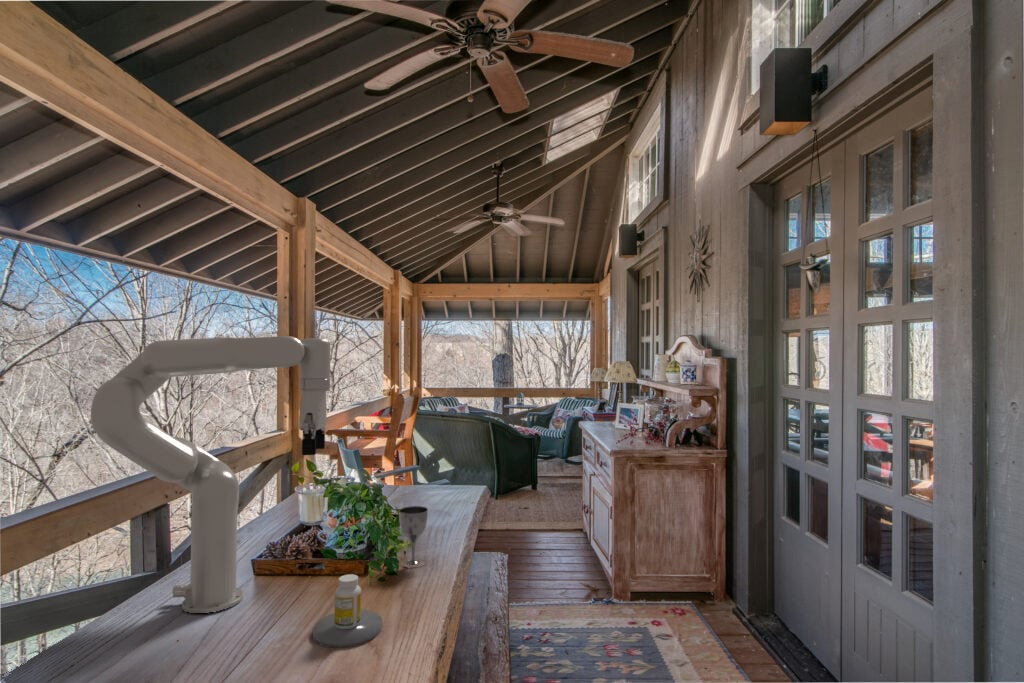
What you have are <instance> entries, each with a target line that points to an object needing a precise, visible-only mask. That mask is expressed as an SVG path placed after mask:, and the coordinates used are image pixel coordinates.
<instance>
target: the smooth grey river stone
mask: <svg viewBox="0 0 1024 683" xmlns="http://www.w3.org/2000/svg"><path fill="white" fill-rule="evenodd" d="M334 620H335V612H333V613H330V614H328V615H326V616H324V617H322V618H321V619H319V620H318V621H317V622H315V624H314V626H313V629H312V637H313V638H312V639H313V640H314V641H315V643H317V644H318V643H319V644H318V645H320V644H321V646H323V647H326V646H327V648H341V649H342V648H349V646H350V647H354V645H355V646H359V645H363V644H364V643H367V642H370V641H371V640H373V639H374V638H376V637H377V636H379V635H380V633H381V632H382V630H383V618H382V616H381V615H380V614H379V613H377V612H375V611H373V610H369V609H361V621H360V623H359V625H358V626H356V627H354V628H351V629H338V628H337V627H335V623H334Z"/></svg>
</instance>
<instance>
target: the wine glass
mask: <svg viewBox="0 0 1024 683" xmlns="http://www.w3.org/2000/svg"><path fill="white" fill-rule="evenodd" d="M428 512H429V511H428V507H426V506H422V505H420V506H419V505H411V506H405V507H402V508H399V511H398V517H399V519H398V520H399V527H400V530H401V532H402V533H403V535H404V536H405V537H406V538H407V540H408V541H409V543H410V546H411V560H409V559H407V560H408V561H406V562H405V563H406V564H407V565H408V564H409V565H415V564H418V563H419V562H420V561H419V560H416V559H417V558H415V557H416V556H415V555H416V552H415V551H416V544H417V541H418V540H419V538H420V537H421V535H423V533H424V531H426V527H427V524H428V517H429V516H428V515H429V513H428Z"/></svg>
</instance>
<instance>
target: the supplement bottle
mask: <svg viewBox="0 0 1024 683" xmlns="http://www.w3.org/2000/svg"><path fill="white" fill-rule="evenodd" d="M361 607H362V588H361V587H360V585H359V576H358V575H357V574H353V573H350V574H344V575H341V576H339V577H338V587H337V588H336V590H335V591H334V613H335V620H334V623H335V627H337V628H338V629H351V628H354V627H356V626H358V625H359V623H360V621H361V610H362V608H361Z"/></svg>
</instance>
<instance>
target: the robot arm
mask: <svg viewBox="0 0 1024 683" xmlns="http://www.w3.org/2000/svg"><path fill="white" fill-rule="evenodd" d="M330 342H331V341H329V339H327V338H316V337H314V338H313V337H311V338H304V339H298V338H297V337H295V336H290V335H284V336H283V335H282V336H281V335H280V336H266V337H265V336H264V337H263V336H262V337H258V336H257V337H211V338H209V337H207V338H206V337H205V338H188V339H183V338H182V339H167V340H157V341H153V342H151V343H149V344H148V345H147V346H145V348H144V349H143V350H142V352H141V353H140V354H139V355H138V356H137V357H136V358H135V359H133V360H132V361H131V362H130V363H129V364H128V365H126V366H125V367H124V368H123V369H122V370H120V371H119V372H117V373H116V374H115V375H114V376H113V377H111V379H109V380H106V381H105V382H103V383H102V384H101V385H100V386H98V388H97V389H96V392H95V394H94V396H93V399H92V402H91V408H90V420H91V426H92V427H93V429H94V432H95V433H96V435H97V437H99V439H100V440H101V441H102V442H104V443H105V445H107V446H108V447H110V448H111V449H113V450H114V451H116V452H118V453H119V454H121V455H122V456H124V457H125V458H127V459H128V460H130V461H131V462H133V463H134V464H135V465H137V466H139V467H141V468H142V469H144V470H145V471H147V472H149V473H151V474H152V475H153V476H154V477H156V478H157V479H159V480H161V481H163V482H166V483H175V484H176V485H178V486H180V487H182V488H183V489H185V490H187V491H188V492H191V498H192V499H191V501H192V502H191V504H192V505H191V523H190V524H191V526H190V527H191V528H190V530H191V532H190V533H191V534H190V535H191V536H190V539H191V540H190V541H191V542H190V573H189V574H190V576H189V577H190V582H189V583H188V584H187V585H185V584H184V585H183V584H181V585H180V584H178V585H174V586H173V588H172V597H173V598H184V600H183V601H182V603H181V609H182V611H183V610H184V611H183V612H185V613H187V612H189V613H188V614H190V613H207V612H213V611H218V612H220V611H219V610H222V611H224V610H223V609H225V610H228V609H230V608H232V607H234V606H236V605H238V604H239V603H240V602H241V601H242V600H243V599H244V592H243V591H244V590H242V589H240V588H239V587H237V560H238V559H237V556H238V555H237V554H238V553H237V551H238V550H237V549H238V513H239V511H238V510H239V501H240V500H239V499H240V483H239V479H238V477H237V476H236V474H235V472H234V471H233V470H232V469H231V468H230V466H228V465H227V464H226V463H225V462H223V461H222V460H220V459H219V458H217V457H216V456H214V455H212V454H211V453H209V452H208V451H206V450H204V449H203V448H202V447H200V446H198V445H196V444H195V443H194V442H192V441H190V440H189V439H186V438H184V437H179V436H173V435H171V434H169V433H168V432H166V431H165V430H163V429H161V428H160V427H159V426H158V425H156V424H155V423H153V422H151V421H149V420H148V419H146V418H145V417H144V416H143V415H142V414H141V411H140V407H141V405H142V404H143V403H145V401H146V400H147V399H149V398H150V397H151V396H152V395H153V394H154V393H155V392H157V390H159V389H160V388H161V387H162V386H163V385H164V384H165V383H166V382H167V381H168V380H169V379H170V378H172V377H175V378H176V377H188V376H198V375H212V374H215V375H216V374H226V373H235V372H236V373H237V372H240V371H247V370H248V371H249V370H260V369H261V370H263V369H272V368H274V369H275V368H289V367H294V366H296V365H298V366H299V375H298V376H299V378H298V379H299V385H298V386H299V387H298V389H299V390H298V391H299V392H301V394H300V400H299V411H298V412H299V414H298V429H299V430H300V431H302V436H301V438H302V440H301V443H302V444H301V446H302V447H301V454H302V456H316V454H317V450H320V449H321V450H324V449H325V448H326V430H325V429H326V428H325V426H326V424H327V392H330V391H331V389H330V388H331V343H330ZM229 607H230V608H229ZM227 608H228V609H227Z"/></svg>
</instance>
